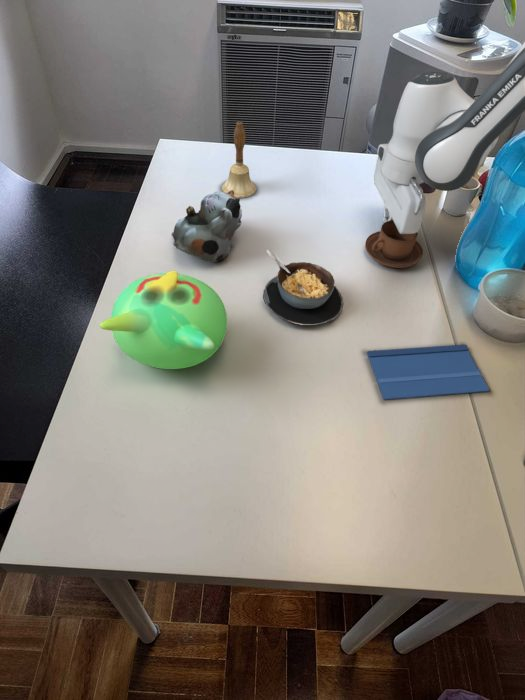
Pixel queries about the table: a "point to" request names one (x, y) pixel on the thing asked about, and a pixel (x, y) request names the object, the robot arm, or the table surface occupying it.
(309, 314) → the soup bowl
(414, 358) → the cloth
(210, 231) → the lucky cat figurine
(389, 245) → the cup and saucer
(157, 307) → the toy bird
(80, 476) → the table surface
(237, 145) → the hand bell
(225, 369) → the table surface
